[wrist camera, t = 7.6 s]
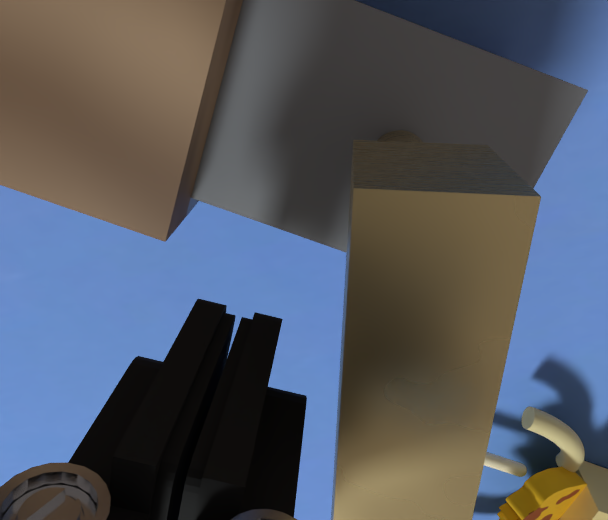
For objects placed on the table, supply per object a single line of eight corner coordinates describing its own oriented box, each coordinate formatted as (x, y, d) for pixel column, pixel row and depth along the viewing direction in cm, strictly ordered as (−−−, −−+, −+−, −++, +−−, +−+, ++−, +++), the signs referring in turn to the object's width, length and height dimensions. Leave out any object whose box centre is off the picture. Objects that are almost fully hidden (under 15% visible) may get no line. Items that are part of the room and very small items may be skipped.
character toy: (531, 439, 18) (742, 508, 18) (506, 379, 21) (688, 440, 21) (431, 584, 21) (611, 638, 22) (421, 514, 24) (580, 564, 25)
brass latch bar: (453, 111, 11) (540, 197, 6) (407, 453, 14) (436, 682, 9) (353, 108, 11) (353, 188, 6) (333, 447, 15) (324, 671, 10)
